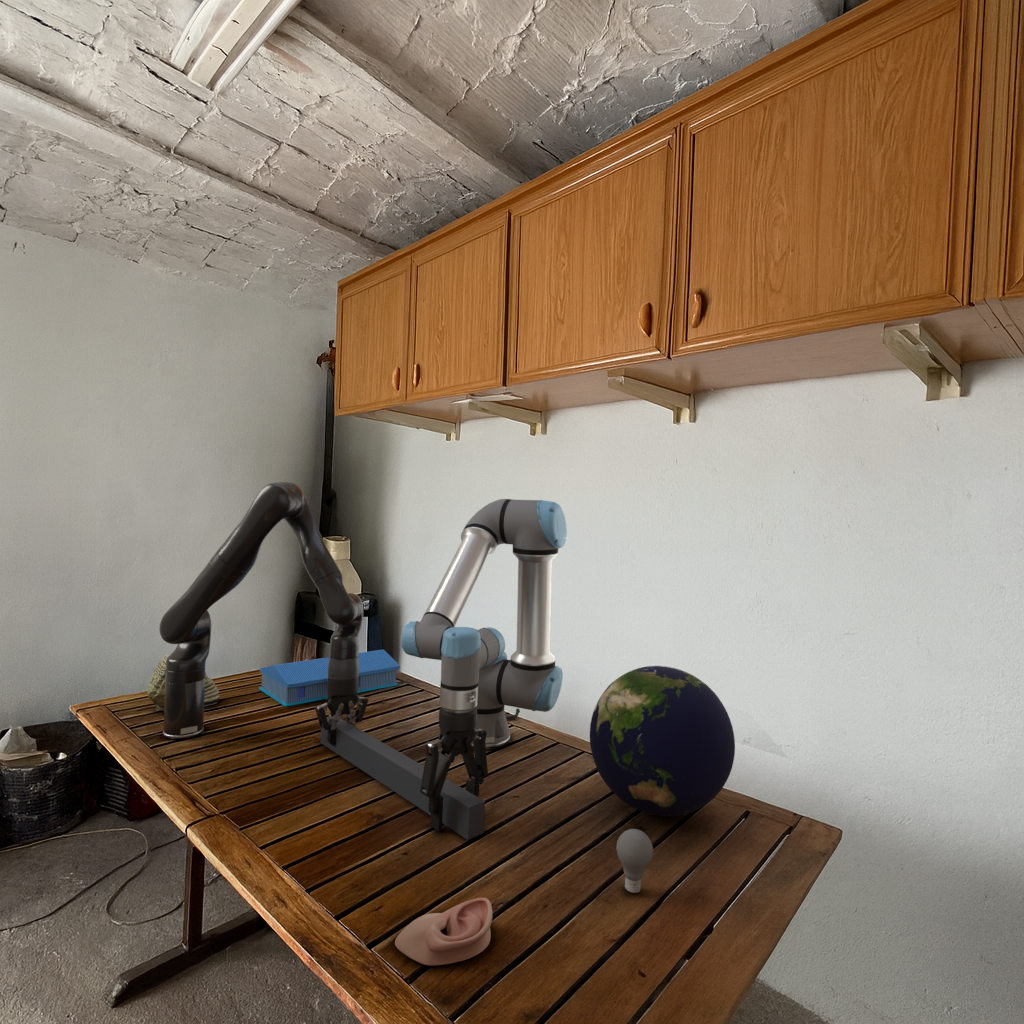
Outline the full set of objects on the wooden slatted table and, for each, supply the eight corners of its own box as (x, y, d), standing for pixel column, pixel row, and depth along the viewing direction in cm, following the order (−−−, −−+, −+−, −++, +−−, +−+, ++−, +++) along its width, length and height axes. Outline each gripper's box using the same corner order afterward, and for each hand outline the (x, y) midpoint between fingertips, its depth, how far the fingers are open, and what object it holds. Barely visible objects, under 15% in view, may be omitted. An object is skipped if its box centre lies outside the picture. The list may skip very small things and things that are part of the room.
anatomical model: (387, 929, 88) (416, 881, 99) (385, 957, 88) (415, 906, 99) (479, 947, 85) (498, 895, 96) (478, 976, 85) (497, 921, 96)
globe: (569, 823, 127) (576, 674, 126) (605, 767, 154) (610, 645, 154) (726, 862, 115) (734, 698, 115) (734, 794, 143) (741, 662, 143)
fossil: (144, 707, 182) (145, 655, 182) (212, 696, 194) (213, 647, 194) (151, 716, 175) (153, 662, 175) (221, 703, 188) (223, 653, 188)
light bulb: (610, 879, 108) (613, 822, 108) (644, 879, 109) (647, 822, 109) (619, 902, 102) (622, 840, 102) (655, 901, 103) (658, 840, 103)
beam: (320, 742, 163) (321, 718, 162) (334, 739, 165) (335, 715, 165) (467, 840, 119) (469, 807, 119) (483, 833, 122) (485, 801, 122)
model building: (289, 709, 186) (291, 675, 185) (258, 688, 204) (259, 657, 204) (403, 687, 212) (405, 657, 212) (366, 670, 230) (368, 643, 230)
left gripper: (361, 666, 166) (358, 731, 166) (309, 675, 156) (307, 744, 157) (376, 673, 161) (373, 740, 161) (324, 682, 151) (321, 753, 151)
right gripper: (426, 723, 115) (421, 847, 116) (509, 702, 130) (504, 812, 130) (403, 712, 121) (398, 830, 121) (485, 693, 135) (480, 798, 136)
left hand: (340, 741), depth 159 cm, fingers closed on beam, 4 cm apart
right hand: (453, 820), depth 126 cm, fingers open, 8 cm apart
